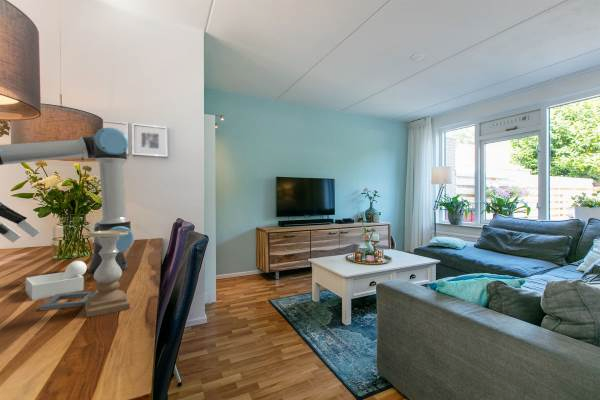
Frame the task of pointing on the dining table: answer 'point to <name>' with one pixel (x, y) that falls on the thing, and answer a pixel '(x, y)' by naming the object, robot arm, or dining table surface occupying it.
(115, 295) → the candle holder
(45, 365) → the dining table surface
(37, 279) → the bin
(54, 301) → the dark grey square frame
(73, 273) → the lightbulb
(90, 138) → the robot arm
